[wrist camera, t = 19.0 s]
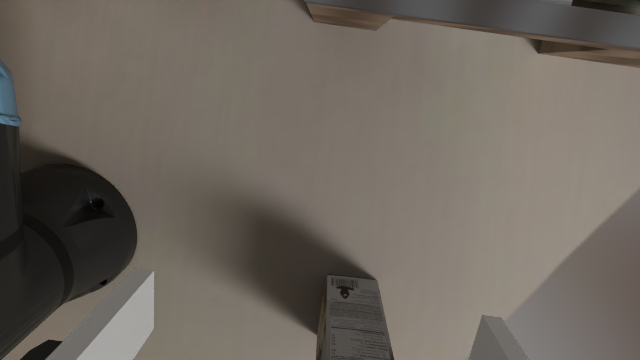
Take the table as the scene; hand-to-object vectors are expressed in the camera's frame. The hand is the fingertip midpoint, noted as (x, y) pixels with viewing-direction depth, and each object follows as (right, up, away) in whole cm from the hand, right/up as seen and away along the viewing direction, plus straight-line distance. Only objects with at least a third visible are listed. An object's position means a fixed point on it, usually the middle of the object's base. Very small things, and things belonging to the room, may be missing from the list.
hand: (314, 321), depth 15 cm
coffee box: (+3, -10, +31) cm, 33 cm away
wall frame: (+17, +19, +21) cm, 33 cm away
